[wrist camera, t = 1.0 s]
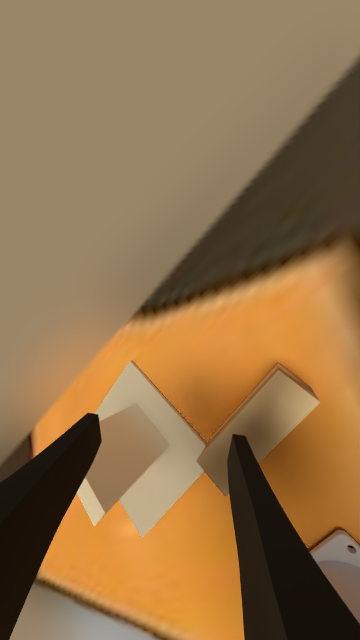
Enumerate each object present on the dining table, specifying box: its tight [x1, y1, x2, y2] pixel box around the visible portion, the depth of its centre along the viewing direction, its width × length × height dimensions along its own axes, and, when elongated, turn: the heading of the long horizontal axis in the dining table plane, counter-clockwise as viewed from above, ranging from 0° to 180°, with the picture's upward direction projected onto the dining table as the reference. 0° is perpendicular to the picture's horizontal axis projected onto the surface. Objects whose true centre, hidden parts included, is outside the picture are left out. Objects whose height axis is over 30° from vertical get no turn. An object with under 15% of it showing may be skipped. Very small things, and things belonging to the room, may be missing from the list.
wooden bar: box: [196, 362, 320, 496], centre depth 16 cm, size 3×10×4 cm, turn 142°
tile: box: [77, 403, 170, 527], centre depth 18 cm, size 6×2×9 cm, turn 52°
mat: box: [95, 360, 207, 538], centre depth 23 cm, size 14×14×1 cm
